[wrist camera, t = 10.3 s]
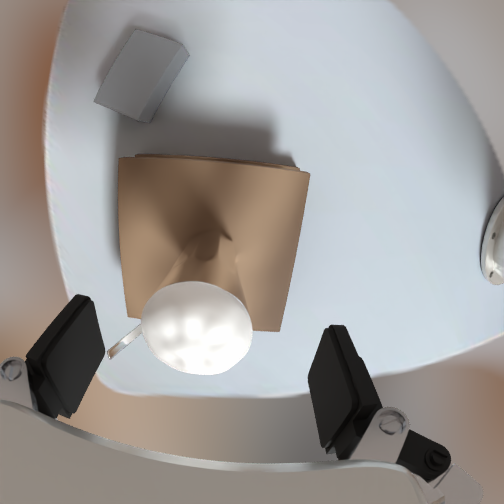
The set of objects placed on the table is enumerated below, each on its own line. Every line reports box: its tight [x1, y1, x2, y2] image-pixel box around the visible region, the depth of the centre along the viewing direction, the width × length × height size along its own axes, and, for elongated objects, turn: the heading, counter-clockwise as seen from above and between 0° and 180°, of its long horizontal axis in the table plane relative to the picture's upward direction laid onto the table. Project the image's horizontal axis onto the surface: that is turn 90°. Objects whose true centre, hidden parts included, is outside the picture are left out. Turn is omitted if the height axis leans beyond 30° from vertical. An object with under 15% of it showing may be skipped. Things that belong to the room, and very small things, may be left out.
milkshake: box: [107, 231, 252, 375], centre depth 13 cm, size 5×5×10 cm
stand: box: [118, 154, 310, 332], centre depth 20 cm, size 12×12×4 cm
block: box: [94, 29, 190, 123], centre depth 15 cm, size 4×6×3 cm, turn 150°
